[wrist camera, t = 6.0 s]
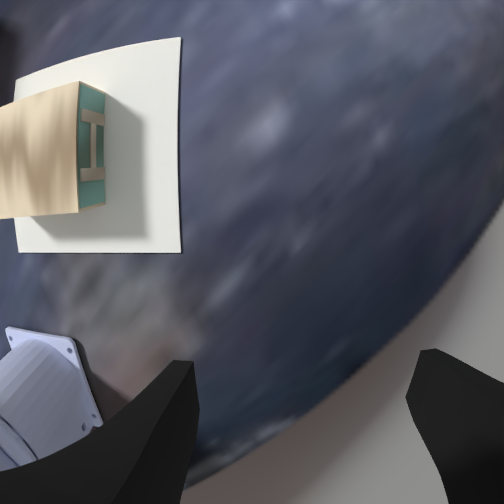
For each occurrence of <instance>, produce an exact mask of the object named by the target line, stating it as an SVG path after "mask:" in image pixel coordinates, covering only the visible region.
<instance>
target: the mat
mask: <svg viewBox="0 0 504 504" xmlns="http://www.w3.org/2000/svg"><path fill="white" fill-rule="evenodd" d="M180 47H181V37H177V38H169V39H162V40H155V41H149V42H143V43H138V44H133V45H128V46H123V47H118V48H114V49H109V50H105V51H101V52H97V53H93V54H90V55H86V56H83V57H79V58H76V59H72V60H69V61H66V62H63V63H60V64H57V65H54V66H51V67H48V68H45V69H43V70H40V71H37V72H35V73H32V74H30V75H27V76H25V77H22V78H20V79H17V80H16V85H15V93H14V102H15V101H17V100H20V99H23V98H25V97H28V96H31V95H34V94H37V93H39V92H42V91H46V90H49V89H52V88H55V87H58V86H62V85H65V84H69V83H72V82H76V81H81V82H83V83H86V84H88V85H90V86H93V87H95V88H97V89H99V90H101V91H104V92H105V107H104V115H105V126H104V167H105V179H104V187H105V205H102V206H99V207H95V208H92V209H89V210H85V211H82V212H79V213H65V214H51V215H39V216H27V217H16V218H14V220H15V228H16V236H17V243H18V250H19V253H181V243H180V223H179V198H178V89H179V65H180Z"/></svg>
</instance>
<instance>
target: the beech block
mask: <svg viewBox="0 0 504 504" xmlns="http://www.w3.org/2000/svg"><path fill="white" fill-rule="evenodd" d="M104 107H105V92H104V91H101V90H99V89H97V88H95V87H93V86H90V85H88V84H86V83H83V82H81V81H76V82H72V83H69V84H65V85H62V86H58V87H55V88H52V89H49V90H46V91H42V92H39V93H37V94H34V95H31V96H28V97H25V98H23V99H20V100H17V101H15V102H12V103H10V104H7V105H5V106H2V107H0V219H6V218H16V217H27V216H39V215H51V214H65V213H79V212H82V211H85V210H89V209H92V208H95V207H99V206H102V205H105V187H104V179H105V167H104V126H105V115H104Z"/></svg>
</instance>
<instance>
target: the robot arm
mask: <svg viewBox="0 0 504 504" xmlns="http://www.w3.org/2000/svg"><path fill="white" fill-rule="evenodd" d="M5 331H6V335H7V338H8V341H9V344H10V346H11V349H12V350H11V351H10V352H9V353H8V354H7V355H6V356H5V357H4V358H3V359H2V360H0V504H180V499H181V495H182V490H183V487H184V483H185V479H186V475H187V471H188V467H189V464H190V460H191V456H192V452H193V448H194V444H195V440H196V436H197V428H198V420H199V411H200V408H199V401H198V394H197V387H196V379H195V371H194V363H193V361H180V360H173V361H172V362H171V363H170V364H169V365H168V366H167V367H166V368H165V369H164V370H163V371H162V372H161V373H160V374H159V375H158V376H157V377H156V378H155V379H154V380H153V381H152V382H151V383H150V384H149V385H148V386H147V387H146V388H145V389H144V390H143V391H142V392H141V393H140V394H138V395H137V396H136V397H135V398H134V399H133V400H132V401H131V402H130V403H129V404H128V405H126V406H125V407H124V408H123V409H122V410H120V411H119V412H118V413H117V414H116V415H114V416H113V417H112V418H111V419H109V420H108V421H107V422H105V423H104V424H103V421H102V418H101V416H100V413H99V411H98V408H97V406H96V403H95V401H94V398H93V395H92V393H91V390H90V387H89V384H88V382H87V379H86V376H85V373H84V370H83V367H82V364H81V360H80V357H79V354H78V351H77V347H76V344H75V342H74V340H73V339H71V338H69V337H63V336H57V335H51V334H45V333H39V332H34V331H29V330H24V329H19V328H14V327H7V328H6V330H5ZM71 349H72V350H71ZM406 400H407V404H408V407H409V410H410V413H411V415H412V418H413V421H414V423H415V425H416V427H417V429H418V431H419V433H420V435H421V437H422V439H423V441H424V443H425V445H426V447H427V449H428V451H429V452H430V455H431V456H432V459H433V460H434V463H435V464H436V467H437V469H438V471H439V474H440V476H441V479H442V482H443V485H444V488H445V491H446V495H447V498H448V503H449V504H504V383H503V382H500V381H498V380H496V379H494V378H492V377H490V376H488V375H486V374H484V373H483V372H481V371H479V370H477V369H475V368H473V367H471V366H469V365H468V364H466V363H464V362H462V361H460V360H458V359H456V358H455V357H453V356H451V355H449V354H447V353H445V352H443V351H440V350H438V349H429V350H422V351H420V355H419V358H418V362H417V365H416V368H415V371H414V374H413V377H412V380H411V383H410V386H409V389H408V392H407V394H406ZM93 426H96V427H99V428H97V429H96V430H94V431H93V432H91V433H90V431H91V429H92V427H93Z"/></svg>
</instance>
